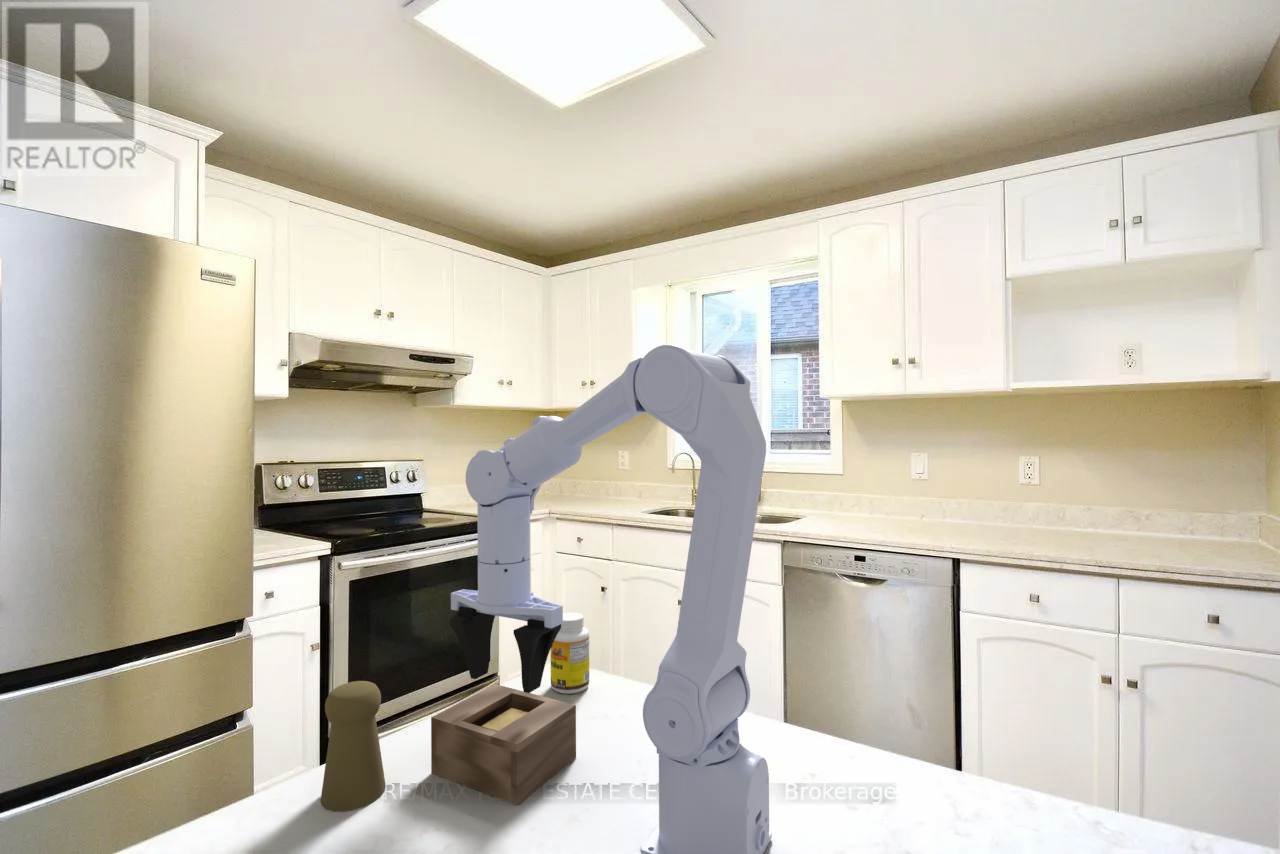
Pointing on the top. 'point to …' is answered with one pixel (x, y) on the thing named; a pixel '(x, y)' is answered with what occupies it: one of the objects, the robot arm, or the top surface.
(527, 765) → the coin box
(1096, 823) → the top surface
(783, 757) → the top surface
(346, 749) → the cork
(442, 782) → the top surface
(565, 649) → the supplement bottle
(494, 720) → the block
